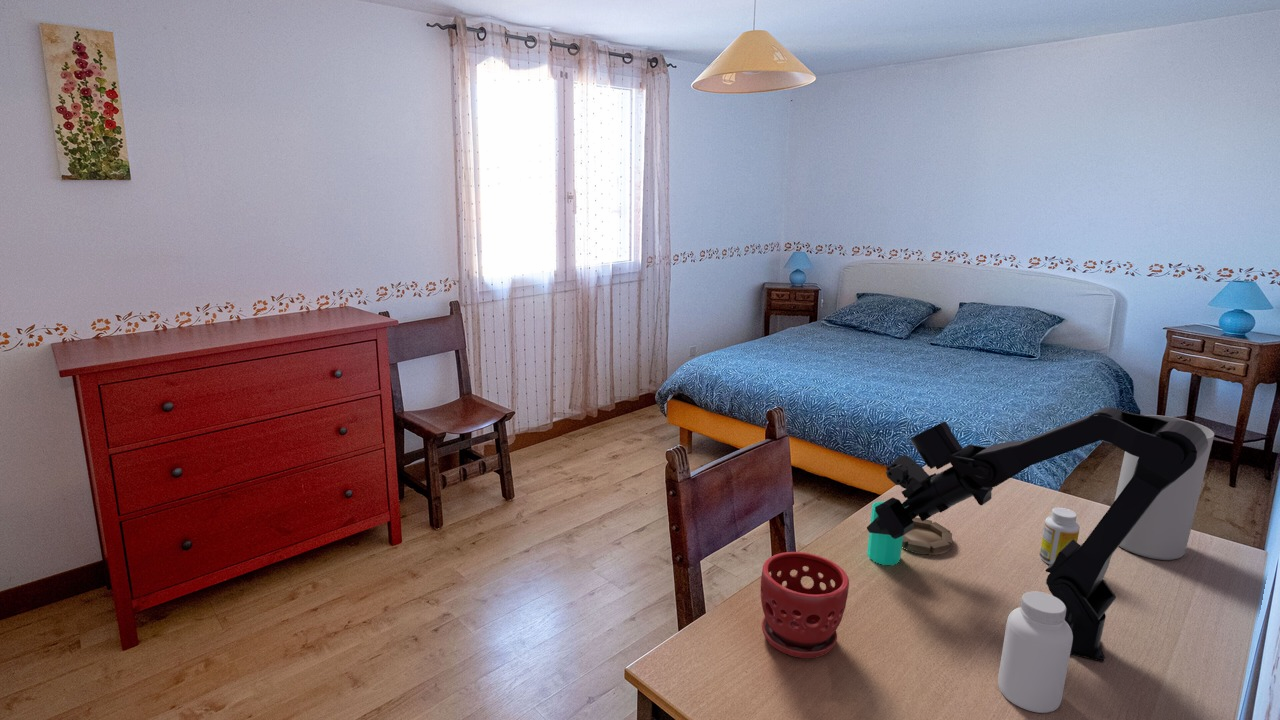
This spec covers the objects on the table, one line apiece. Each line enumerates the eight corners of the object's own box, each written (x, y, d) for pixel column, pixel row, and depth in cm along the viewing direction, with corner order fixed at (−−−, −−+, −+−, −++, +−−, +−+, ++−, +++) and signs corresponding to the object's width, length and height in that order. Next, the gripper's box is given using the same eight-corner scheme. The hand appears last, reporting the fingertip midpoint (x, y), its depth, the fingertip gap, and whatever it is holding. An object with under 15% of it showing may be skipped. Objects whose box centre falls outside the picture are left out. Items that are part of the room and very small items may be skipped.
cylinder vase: (1188, 568, 129) (1219, 444, 122) (1108, 549, 135) (1133, 430, 128) (1180, 539, 139) (1208, 422, 132) (1106, 522, 146) (1129, 410, 139)
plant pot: (840, 675, 102) (847, 604, 99) (751, 655, 106) (755, 586, 103) (845, 621, 114) (851, 557, 111) (764, 605, 118) (768, 542, 115)
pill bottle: (1003, 666, 104) (1018, 578, 100) (1064, 691, 99) (1083, 600, 95) (989, 696, 98) (1005, 604, 94) (1054, 724, 93) (1074, 628, 89)
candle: (867, 562, 131) (873, 505, 127) (866, 546, 136) (872, 491, 133) (901, 568, 129) (908, 510, 126) (899, 551, 134) (906, 495, 131)
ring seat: (951, 560, 131) (953, 553, 131) (885, 546, 136) (886, 539, 136) (952, 531, 142) (953, 524, 142) (890, 519, 147) (891, 512, 146)
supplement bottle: (1077, 562, 131) (1087, 513, 128) (1065, 572, 128) (1075, 522, 125) (1045, 549, 135) (1054, 502, 132) (1033, 559, 132) (1042, 511, 129)
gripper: (943, 435, 129) (883, 470, 140) (891, 463, 117) (829, 498, 128) (980, 489, 125) (915, 520, 136) (930, 522, 113) (863, 554, 125)
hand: (881, 521), depth 131 cm, fingers open, 9 cm apart
